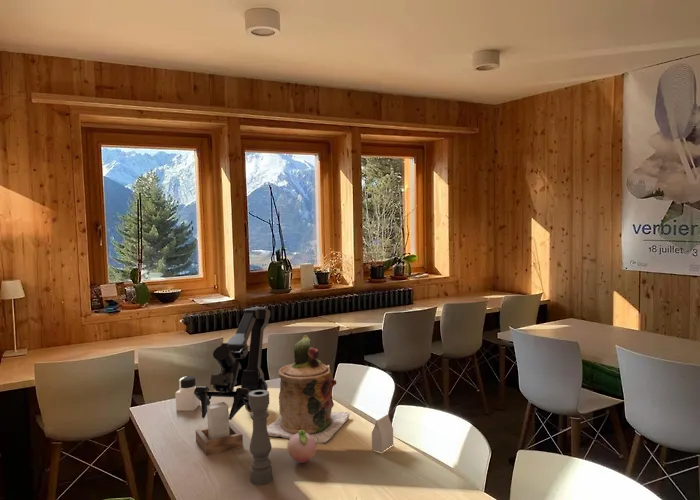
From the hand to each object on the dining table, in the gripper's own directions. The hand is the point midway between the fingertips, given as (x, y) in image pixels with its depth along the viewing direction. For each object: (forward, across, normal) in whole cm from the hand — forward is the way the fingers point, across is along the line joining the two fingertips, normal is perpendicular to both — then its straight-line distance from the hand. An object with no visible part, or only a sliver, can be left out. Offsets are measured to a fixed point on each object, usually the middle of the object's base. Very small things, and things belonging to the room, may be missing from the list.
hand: (216, 418), depth 175 cm
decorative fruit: (+12, +31, +1) cm, 33 cm away
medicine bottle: (-16, -26, +29) cm, 42 cm away
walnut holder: (+5, 0, +7) cm, 9 cm away
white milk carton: (+3, +53, +10) cm, 54 cm away
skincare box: (+5, 0, +7) cm, 8 cm away
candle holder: (+20, +22, -7) cm, 31 cm away
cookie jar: (-7, +25, +20) cm, 33 cm away
